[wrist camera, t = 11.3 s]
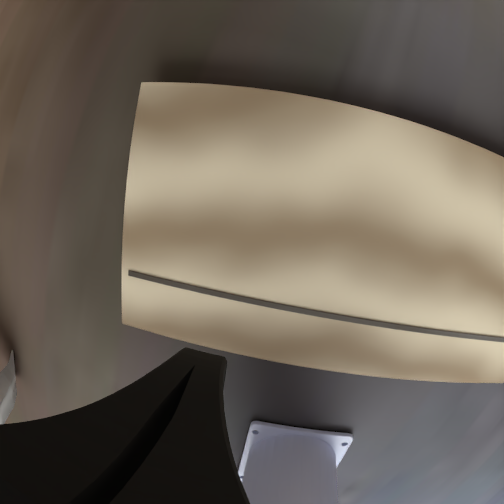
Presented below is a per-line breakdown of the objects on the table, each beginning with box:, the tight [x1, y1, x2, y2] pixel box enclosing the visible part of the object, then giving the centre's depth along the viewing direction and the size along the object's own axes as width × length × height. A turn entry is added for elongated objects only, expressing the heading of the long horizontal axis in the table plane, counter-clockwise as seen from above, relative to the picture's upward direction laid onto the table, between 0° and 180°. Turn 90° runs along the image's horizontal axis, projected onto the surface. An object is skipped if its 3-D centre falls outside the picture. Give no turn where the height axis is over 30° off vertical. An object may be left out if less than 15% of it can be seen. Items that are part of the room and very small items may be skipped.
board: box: [122, 82, 504, 383], centre depth 15 cm, size 14×32×2 cm, turn 81°
